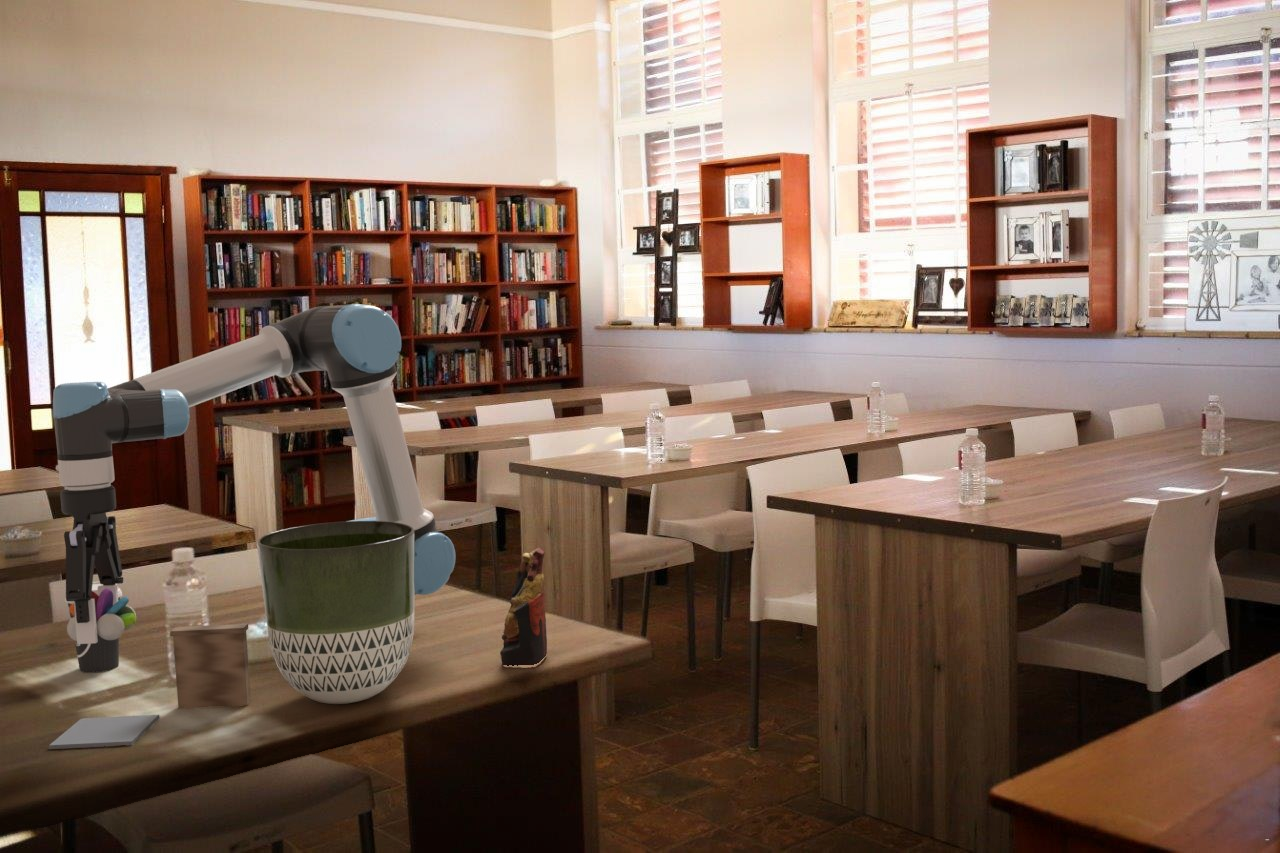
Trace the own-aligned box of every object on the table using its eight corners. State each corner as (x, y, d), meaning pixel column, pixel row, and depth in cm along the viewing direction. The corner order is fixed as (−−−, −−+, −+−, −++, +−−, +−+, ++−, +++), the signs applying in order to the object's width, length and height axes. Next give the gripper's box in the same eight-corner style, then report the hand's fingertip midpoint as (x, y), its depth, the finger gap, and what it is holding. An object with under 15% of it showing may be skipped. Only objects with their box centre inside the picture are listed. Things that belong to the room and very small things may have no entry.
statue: (512, 652, 228) (508, 543, 226) (554, 653, 226) (550, 544, 224) (490, 671, 216) (486, 556, 214) (535, 672, 214) (530, 557, 213)
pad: (159, 718, 197) (159, 714, 197) (132, 745, 185) (131, 741, 185) (81, 722, 196) (81, 718, 196) (49, 749, 185) (49, 745, 184)
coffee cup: (106, 676, 221) (100, 592, 220) (58, 674, 223) (51, 591, 222) (138, 660, 231) (132, 580, 229) (92, 659, 233) (85, 579, 231)
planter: (294, 677, 217) (284, 523, 214) (435, 673, 216) (427, 518, 213) (246, 725, 192) (234, 551, 190) (404, 721, 191) (395, 547, 189)
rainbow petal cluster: (82, 630, 193) (78, 583, 193) (146, 627, 194) (142, 581, 193) (59, 645, 185) (55, 596, 184) (125, 642, 185) (121, 594, 184)
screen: (253, 700, 204) (248, 623, 203) (249, 705, 202) (243, 627, 200) (181, 704, 204) (175, 627, 202) (175, 709, 201) (170, 631, 200)
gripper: (89, 477, 197) (100, 618, 200) (30, 498, 176) (44, 655, 179) (138, 475, 198) (148, 616, 200) (85, 495, 177) (97, 653, 179)
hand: (99, 634), depth 189 cm, fingers closed on rainbow petal cluster, 8 cm apart
